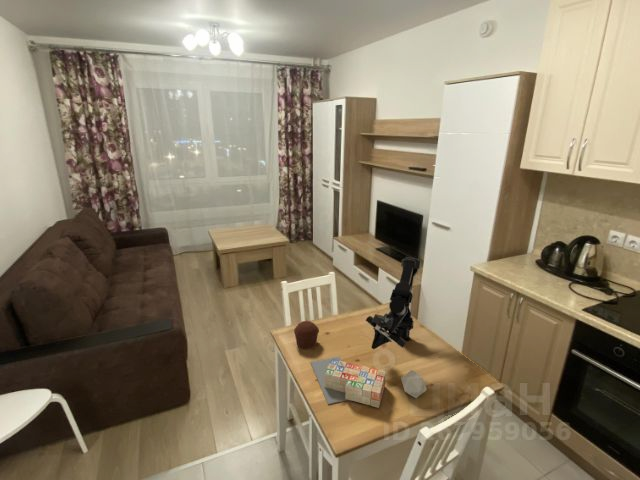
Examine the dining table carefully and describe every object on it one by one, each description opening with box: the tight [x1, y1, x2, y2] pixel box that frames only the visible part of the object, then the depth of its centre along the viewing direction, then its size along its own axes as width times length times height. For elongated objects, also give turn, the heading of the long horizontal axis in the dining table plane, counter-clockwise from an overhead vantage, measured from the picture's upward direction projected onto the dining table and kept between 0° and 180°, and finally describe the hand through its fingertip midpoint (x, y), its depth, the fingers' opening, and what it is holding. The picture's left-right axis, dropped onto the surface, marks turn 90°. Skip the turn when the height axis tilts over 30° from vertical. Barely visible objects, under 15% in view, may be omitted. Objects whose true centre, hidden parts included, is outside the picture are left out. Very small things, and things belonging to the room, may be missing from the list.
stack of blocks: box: [324, 359, 387, 409], centre depth 126 cm, size 21×6×12 cm
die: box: [400, 369, 428, 399], centre depth 124 cm, size 8×9×10 cm
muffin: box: [293, 320, 320, 349], centre depth 153 cm, size 12×11×10 cm
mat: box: [309, 356, 349, 406], centre depth 132 cm, size 13×24×1 cm, turn 17°
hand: (372, 348), depth 136 cm, fingers closed
